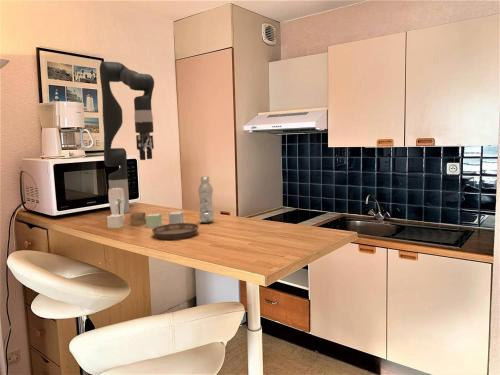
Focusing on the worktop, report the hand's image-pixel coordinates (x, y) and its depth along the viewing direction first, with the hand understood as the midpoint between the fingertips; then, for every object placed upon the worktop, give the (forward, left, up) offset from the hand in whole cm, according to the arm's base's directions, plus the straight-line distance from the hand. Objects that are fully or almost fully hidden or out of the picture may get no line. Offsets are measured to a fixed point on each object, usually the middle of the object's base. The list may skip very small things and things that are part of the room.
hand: (146, 159), depth 170 cm
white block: (+5, -13, -29) cm, 32 cm away
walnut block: (+1, -5, -29) cm, 29 cm away
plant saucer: (+21, +17, -29) cm, 39 cm away
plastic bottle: (-1, +25, -29) cm, 38 cm away
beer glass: (-8, -18, -29) cm, 35 cm away
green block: (+5, +4, -29) cm, 29 cm away
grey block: (+1, +12, -29) cm, 31 cm away
